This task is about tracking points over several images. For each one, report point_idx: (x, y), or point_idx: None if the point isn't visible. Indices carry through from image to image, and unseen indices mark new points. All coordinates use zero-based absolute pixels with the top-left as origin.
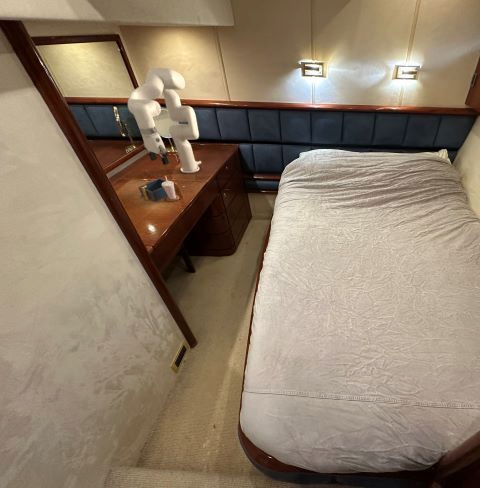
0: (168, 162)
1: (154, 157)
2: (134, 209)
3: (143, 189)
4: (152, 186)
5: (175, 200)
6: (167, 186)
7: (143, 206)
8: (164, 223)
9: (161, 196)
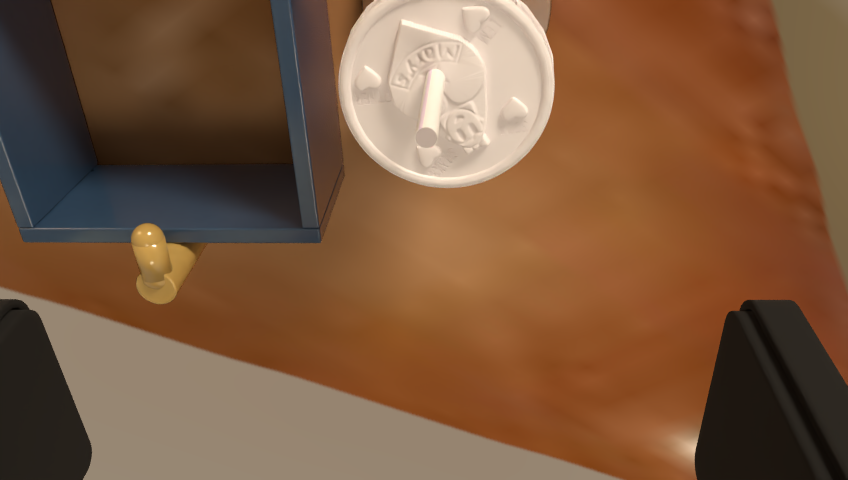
0: (800, 331)
1: (13, 438)
2: (325, 368)
3: (184, 278)
4: (13, 32)
5: (545, 31)
6: (524, 149)
7: (340, 300)
8: None
9: (330, 95)
